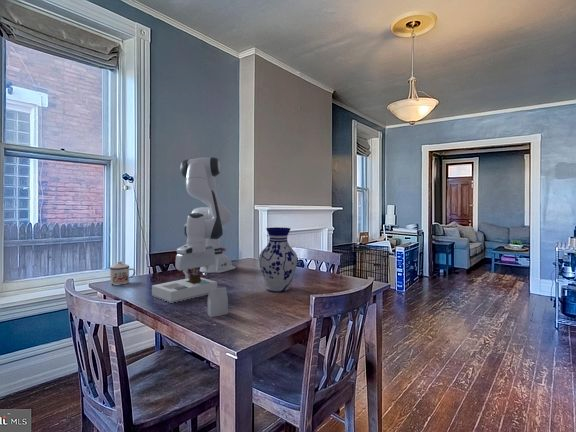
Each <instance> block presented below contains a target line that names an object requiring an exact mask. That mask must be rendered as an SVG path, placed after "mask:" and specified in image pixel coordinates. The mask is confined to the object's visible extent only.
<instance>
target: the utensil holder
mask: <svg viewBox="0 0 576 432" xmlns="http://www.w3.org/2000/svg"><path fill="white" fill-rule="evenodd" d="M190 270H191V271H192V274H189V275H190V279H189V281H188V282H189V283H192V284H197V283H200V282H201V278H202V277H201V274H199V273H198V268H192V269H190ZM200 277H201V278H200Z"/></svg>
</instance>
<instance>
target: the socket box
mask: <svg viewBox="0 0 576 432" xmlns="http://www.w3.org/2000/svg"><path fill="white" fill-rule="evenodd" d="M200 278H201V282H200V283H197V284H192V283H189V282H188V281H189V279H190V278H189V279H186V278H183V279H179V280H173V281H168V282H163V283H158V284H153V285H151V297H152V296H154V297H153V298H155V297H156V298H155V299H157V298H159V299H158V300H160V299H162V300H161V301H163V300H164V301H163V302H165V301H167V302H166V303H168V302H169V303H168V304H170V303H172V304H175V303H174V302H176V303H179V302H178V301H180V302H184V301H186V300H187V299H188V300H190V299H191V298H192V299H194V298H195V297H196V298H199V297H203V296H207V295H208V294H209V289H216V288H218V281H216V280H213V279H208V278H205V277H200ZM183 300H184V301H183Z"/></svg>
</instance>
